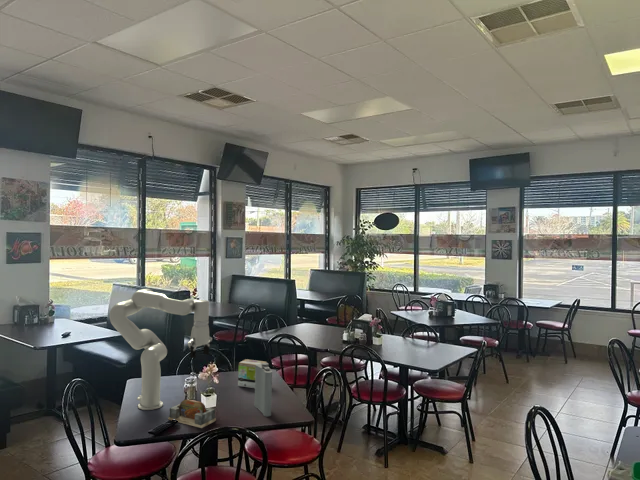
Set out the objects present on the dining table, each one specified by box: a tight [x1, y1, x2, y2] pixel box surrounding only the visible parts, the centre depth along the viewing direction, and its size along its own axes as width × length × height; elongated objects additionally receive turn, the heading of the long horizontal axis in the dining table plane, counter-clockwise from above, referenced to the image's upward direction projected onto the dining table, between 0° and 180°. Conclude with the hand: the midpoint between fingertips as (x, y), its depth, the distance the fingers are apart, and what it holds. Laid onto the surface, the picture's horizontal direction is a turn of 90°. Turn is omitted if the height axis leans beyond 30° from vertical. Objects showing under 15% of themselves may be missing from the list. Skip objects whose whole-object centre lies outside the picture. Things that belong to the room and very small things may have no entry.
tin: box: [179, 399, 207, 419], centre depth 234 cm, size 15×3×8 cm, turn 64°
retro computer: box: [237, 358, 268, 389], centre depth 291 cm, size 15×10×15 cm, turn 73°
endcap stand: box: [167, 403, 217, 429], centre depth 234 cm, size 10×21×6 cm, turn 64°
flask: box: [254, 362, 273, 417], centre depth 250 cm, size 17×5×25 cm, turn 27°
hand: (199, 355), depth 250 cm, fingers open, 9 cm apart
